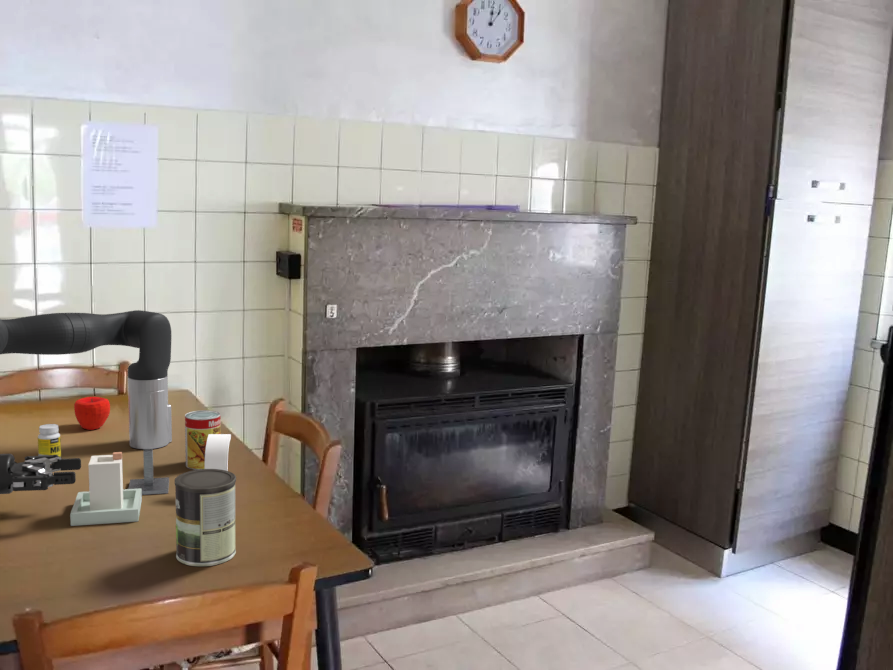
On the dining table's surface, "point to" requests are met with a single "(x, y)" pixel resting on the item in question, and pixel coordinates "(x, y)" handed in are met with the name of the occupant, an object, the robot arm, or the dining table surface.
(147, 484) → the post
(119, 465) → the open-top white box
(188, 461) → the canned food
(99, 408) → the apple
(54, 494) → the dining table surface
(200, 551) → the coffee can
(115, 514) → the tray
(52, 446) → the supplement bottle
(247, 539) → the dining table surface
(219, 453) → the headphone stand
